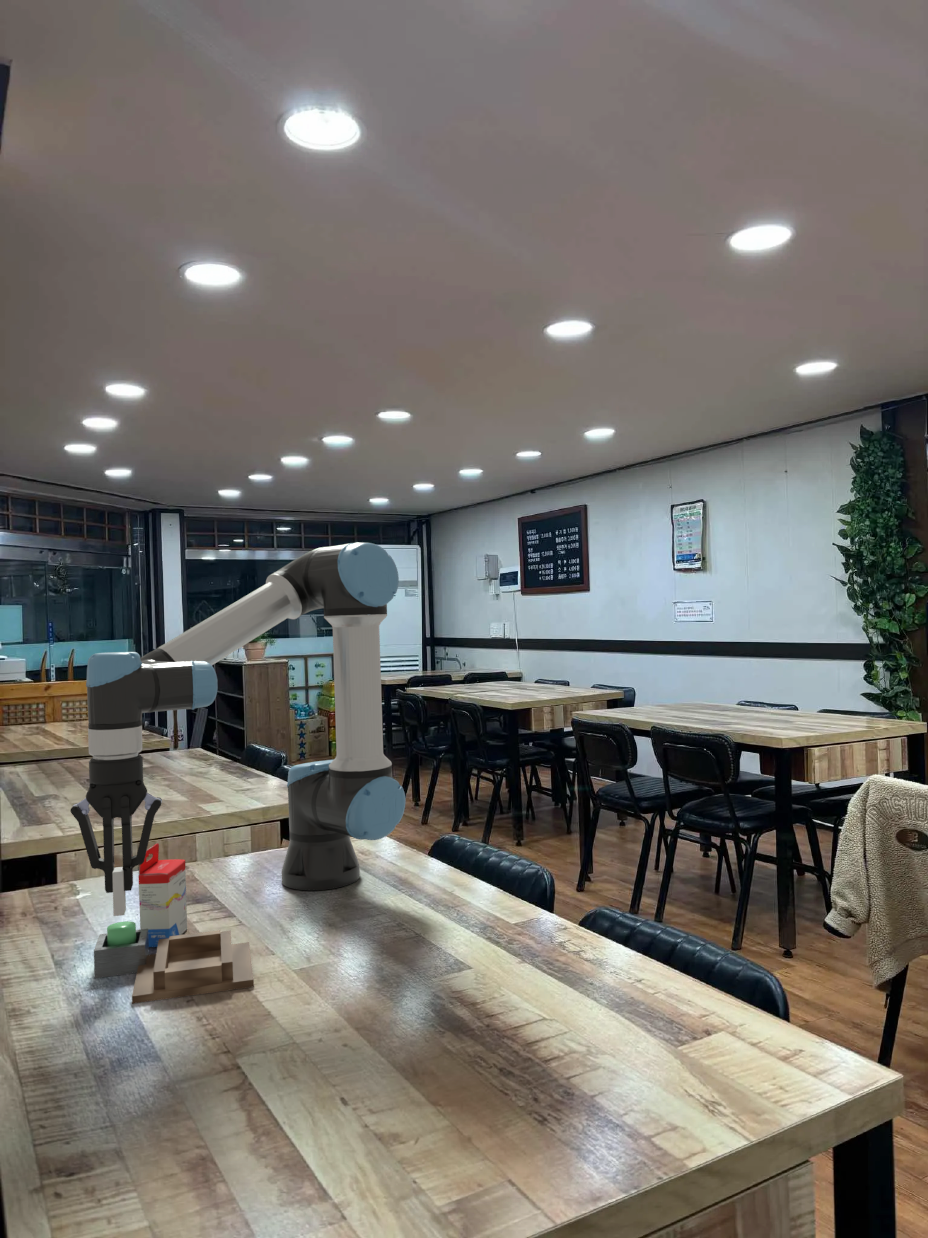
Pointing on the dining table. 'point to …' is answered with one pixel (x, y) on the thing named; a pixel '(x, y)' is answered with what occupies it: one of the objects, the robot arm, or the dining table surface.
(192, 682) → the robot arm
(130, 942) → the button
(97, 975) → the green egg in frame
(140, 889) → the ink box
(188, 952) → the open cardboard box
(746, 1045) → the dining table surface
